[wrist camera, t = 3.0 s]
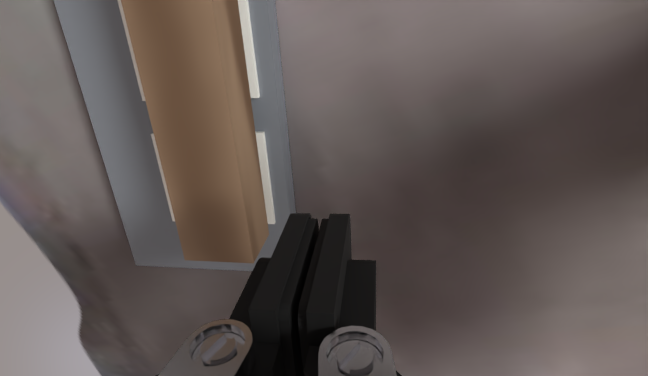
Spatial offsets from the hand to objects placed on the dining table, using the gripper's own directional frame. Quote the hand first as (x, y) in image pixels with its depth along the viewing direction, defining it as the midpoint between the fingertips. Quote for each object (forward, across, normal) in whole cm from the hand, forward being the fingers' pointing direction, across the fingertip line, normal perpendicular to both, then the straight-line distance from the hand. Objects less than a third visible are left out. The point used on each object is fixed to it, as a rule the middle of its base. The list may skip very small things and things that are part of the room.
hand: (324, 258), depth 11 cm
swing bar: (+11, +7, -6) cm, 14 cm away
